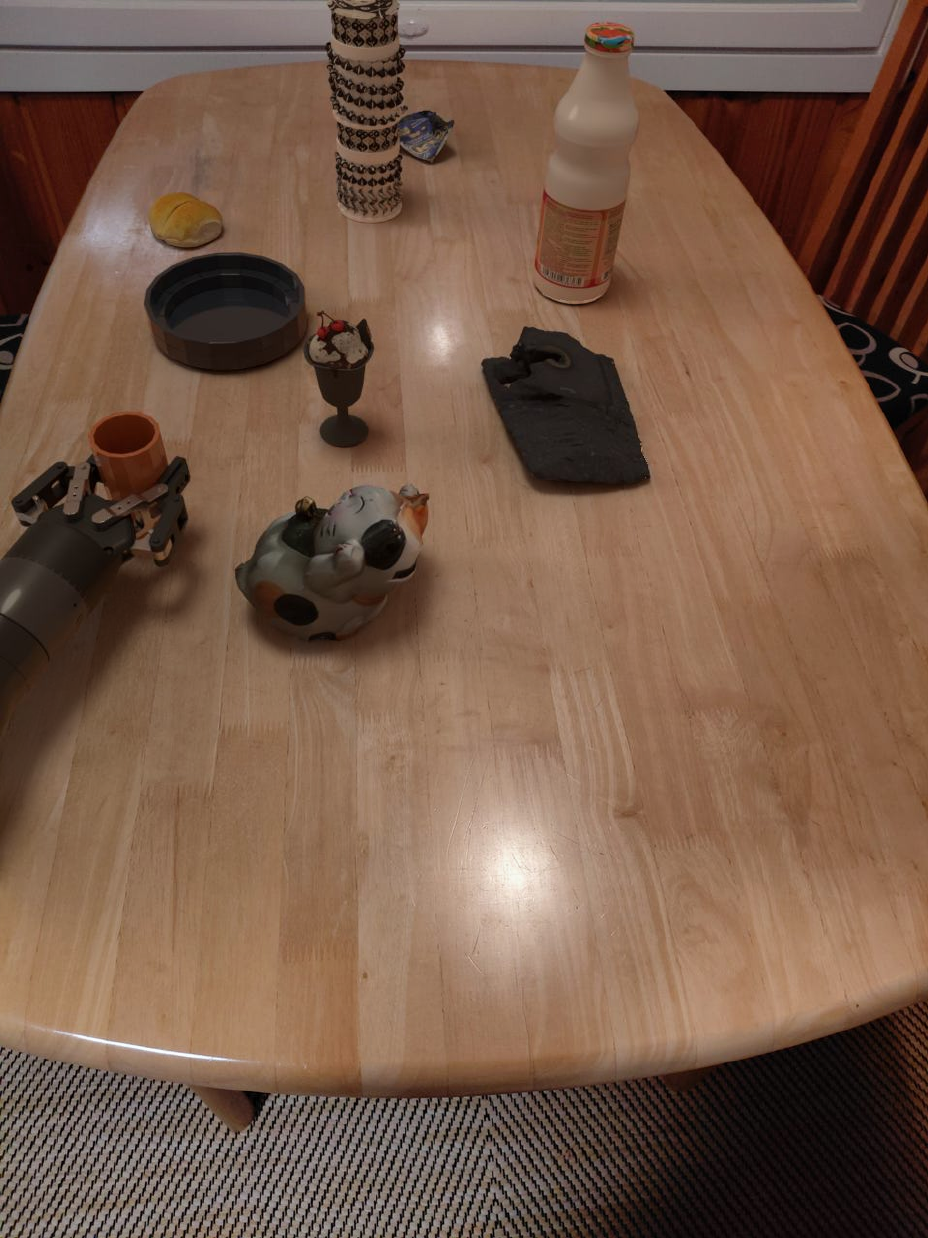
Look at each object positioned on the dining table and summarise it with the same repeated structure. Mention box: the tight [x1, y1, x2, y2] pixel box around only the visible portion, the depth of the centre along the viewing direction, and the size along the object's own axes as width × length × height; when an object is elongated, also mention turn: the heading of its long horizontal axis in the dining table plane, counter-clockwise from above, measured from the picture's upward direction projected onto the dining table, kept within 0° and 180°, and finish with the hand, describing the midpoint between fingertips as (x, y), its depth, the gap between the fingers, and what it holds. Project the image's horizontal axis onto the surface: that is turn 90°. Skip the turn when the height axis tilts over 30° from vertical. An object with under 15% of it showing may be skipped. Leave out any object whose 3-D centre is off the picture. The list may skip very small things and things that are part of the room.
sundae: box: [302, 309, 375, 448], centre depth 89 cm, size 7×7×15 cm
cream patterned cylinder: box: [324, 0, 407, 224], centre depth 113 cm, size 9×9×25 cm
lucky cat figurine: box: [234, 482, 430, 643], centre depth 78 cm, size 15×12×14 cm
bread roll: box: [148, 191, 224, 248], centre depth 115 cm, size 8×9×4 cm
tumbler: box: [88, 410, 170, 540], centre depth 81 cm, size 6×6×11 cm
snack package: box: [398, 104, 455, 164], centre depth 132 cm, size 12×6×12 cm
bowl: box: [143, 251, 308, 371], centre depth 104 cm, size 17×17×4 cm
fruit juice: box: [532, 21, 640, 301], centre depth 103 cm, size 9×9×28 cm
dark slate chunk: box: [480, 325, 651, 485], centre depth 96 cm, size 15×22×5 cm
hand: (150, 455), depth 82 cm, fingers closed on tumbler, 5 cm apart
